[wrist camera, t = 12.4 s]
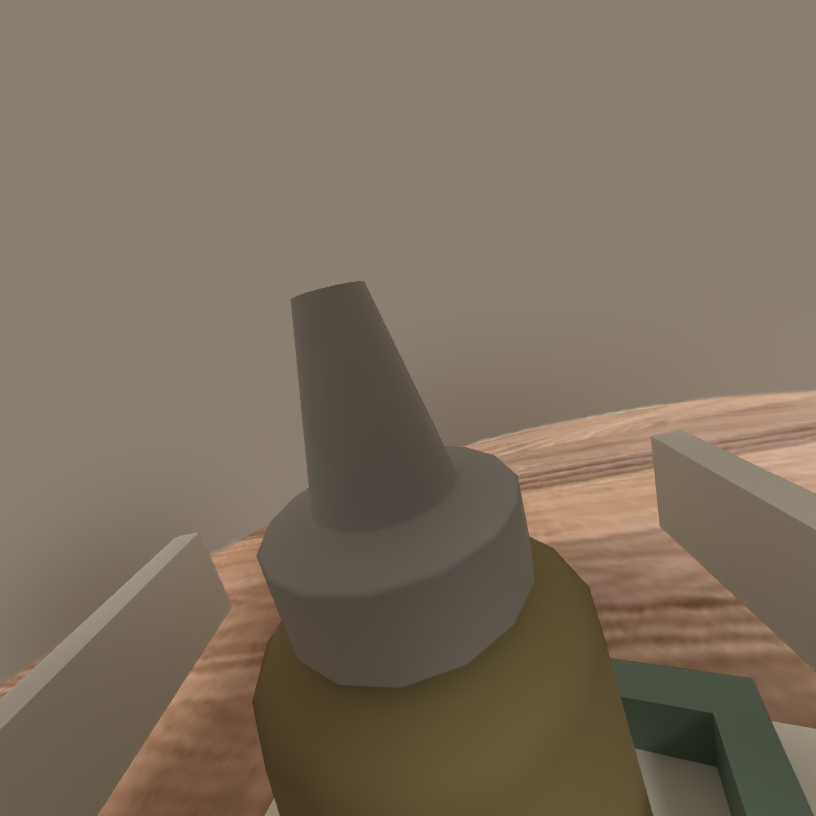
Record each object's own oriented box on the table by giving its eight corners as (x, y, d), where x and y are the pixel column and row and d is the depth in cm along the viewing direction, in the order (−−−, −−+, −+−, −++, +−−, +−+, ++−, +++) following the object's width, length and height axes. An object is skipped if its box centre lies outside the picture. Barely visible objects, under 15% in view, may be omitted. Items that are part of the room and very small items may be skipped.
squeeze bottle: (350, 865, 13) (128, 353, 8) (541, 735, 15) (445, 278, 11) (460, 1587, 5) (-974, 427, 1) (805, 1119, 8) (850, 126, 3)
